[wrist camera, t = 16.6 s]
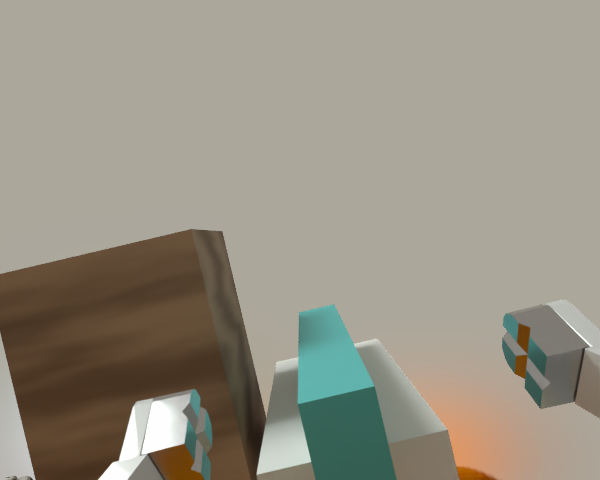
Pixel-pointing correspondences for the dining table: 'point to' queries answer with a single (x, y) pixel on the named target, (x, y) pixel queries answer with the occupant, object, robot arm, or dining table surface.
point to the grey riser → (395, 413)
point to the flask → (22, 479)
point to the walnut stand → (129, 352)
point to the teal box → (339, 403)
